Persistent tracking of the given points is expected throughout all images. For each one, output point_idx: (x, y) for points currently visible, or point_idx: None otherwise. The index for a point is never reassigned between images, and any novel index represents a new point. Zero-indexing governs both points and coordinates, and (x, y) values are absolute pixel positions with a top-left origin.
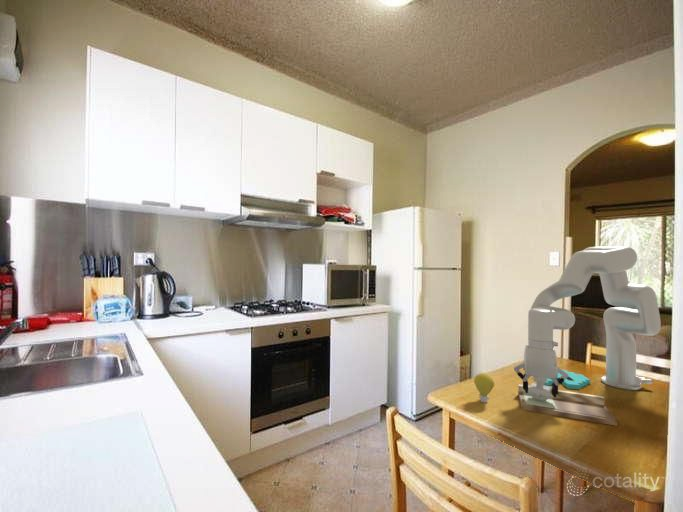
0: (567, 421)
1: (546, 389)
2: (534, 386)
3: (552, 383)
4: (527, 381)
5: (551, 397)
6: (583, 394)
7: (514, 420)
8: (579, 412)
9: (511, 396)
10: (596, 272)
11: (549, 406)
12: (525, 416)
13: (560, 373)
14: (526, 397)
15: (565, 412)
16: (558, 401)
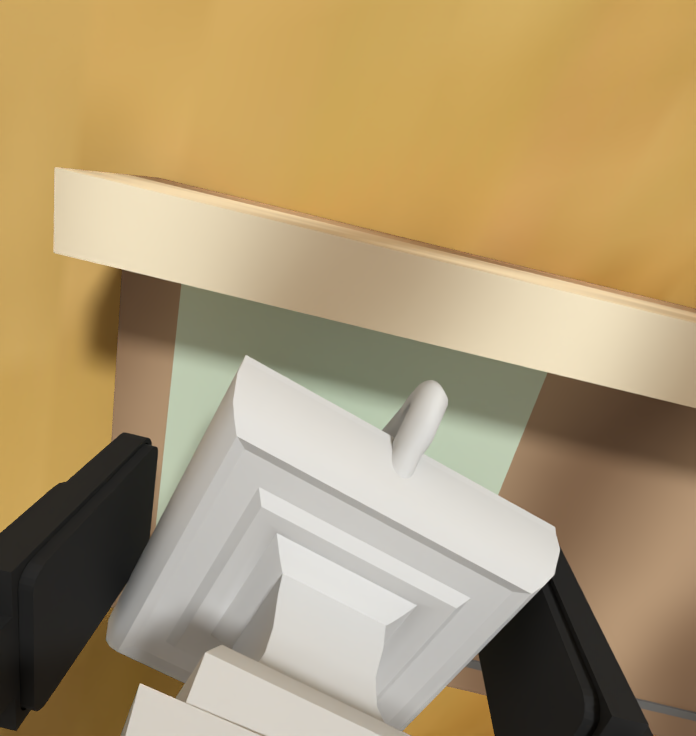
0: (445, 708)
1: (388, 692)
2: (208, 619)
3: (580, 734)
4: (28, 670)
5: None
6: None
7: (39, 723)
8: (633, 686)
9: (63, 256)
10: None
11: None
12: (130, 668)
13: None
14: (190, 419)
15: (481, 693)
16: (574, 467)
